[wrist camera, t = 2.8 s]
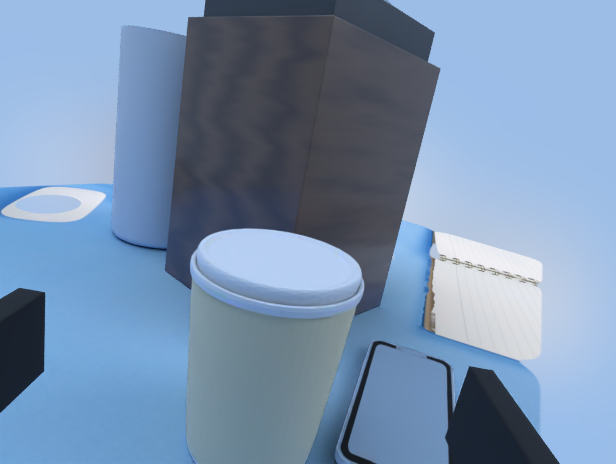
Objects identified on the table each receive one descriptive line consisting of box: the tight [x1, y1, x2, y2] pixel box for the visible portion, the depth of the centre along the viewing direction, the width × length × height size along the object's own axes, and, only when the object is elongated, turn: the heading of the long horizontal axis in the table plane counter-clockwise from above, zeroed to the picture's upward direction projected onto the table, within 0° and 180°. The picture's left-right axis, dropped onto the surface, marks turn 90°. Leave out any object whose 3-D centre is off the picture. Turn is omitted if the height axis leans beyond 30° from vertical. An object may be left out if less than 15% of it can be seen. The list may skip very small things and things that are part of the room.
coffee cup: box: [186, 229, 364, 464], centre depth 23 cm, size 9×9×12 cm
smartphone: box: [335, 340, 456, 464], centre depth 30 cm, size 7×1×15 cm
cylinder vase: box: [111, 26, 187, 249], centre depth 53 cm, size 12×12×25 cm
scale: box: [204, 0, 435, 62], centre depth 39 cm, size 16×15×3 cm
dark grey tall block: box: [165, 15, 440, 316], centre depth 43 cm, size 18×17×26 cm
